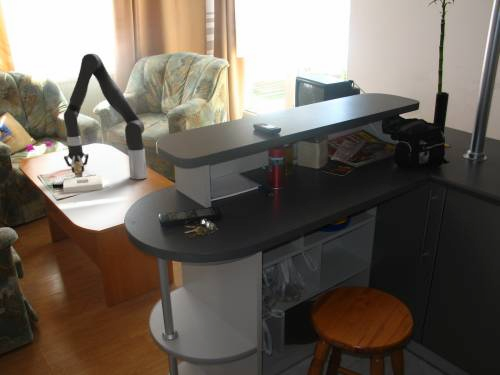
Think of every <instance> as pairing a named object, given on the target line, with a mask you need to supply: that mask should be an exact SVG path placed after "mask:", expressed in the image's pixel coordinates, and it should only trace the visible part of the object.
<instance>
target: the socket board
mask: <svg viewBox="0 0 500 375" xmlns="http://www.w3.org/2000/svg"><path fill="white" fill-rule="evenodd" d="M103 187H104V186H103V182H102V177H101V174H99V175H90V176H89V175H88V176H83V177H77V178H75V177H69V178H67V177H66V178H63V186H62V189H63V194H67V193H78V192H88V191H95V190H96V191H97V190H98V191H99V190H103Z"/></svg>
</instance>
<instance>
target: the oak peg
mask: <svg viewBox="0 0 500 375" xmlns="http://www.w3.org/2000/svg"><path fill="white" fill-rule="evenodd" d="M73 164H74V172H75V173H74V178H77V177H84V176H83V172H82V168H81V162H80V161H74V162H73Z"/></svg>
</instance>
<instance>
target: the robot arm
mask: <svg viewBox="0 0 500 375" xmlns="http://www.w3.org/2000/svg"><path fill="white" fill-rule="evenodd" d="M92 76H94V77H95V78H94V79H96V81H97V83H98V84H99V88H100V90H101V93H102V95H103V96H104V99H106V101H107V103H108V105H109V106H110V107H111V108H112V109H113V110H114V111H116V112H117V113H118V114H119V115H120V116H121V117H122V119H123V120H124V122H125V124H126V125H125V128H124V130H125V131H124V135H125V143H126V146H127V153H128V165H129V166H128V167H129V176H130V177H129V178H131V179H132V180H142V179H147V178H148V174H147V173H148V172H147V161H146V151H145V144H144V142H143V133H144V131H145V126H144V123H143V121H142V120H141V119H140V117H139V116H138V114H136V113H135V111H134V109H132V107H131V104H130V103H129V102H128V101H127V99H126V97H125V95H124V94H123V92H122V90H121V89H120V88H119V86H118V85H117V84H116V82H115V80H114V79H113V78H112V76H111V75H110V74H109V71H108V70H107V69H106V67H105V64H104V63H103V60H102V59H101V58H100V56H99V55H97V54H96V53H87V54H85V55H83V56H82V59H81V63H80V67H79V73H78V76H77V80H76V82H75V85H74V88H73V91H72V93H71V95H70V98H69V103H68V105H67V108H66V110H65V111H64V113H63V120H64V124H65V128H66V129H65V130H66V141H67V148H68V149H67V150H68V155H64V157H63V160H64V161H65V163H66V165H67V167H70V168H71V172H72V174H75V172H74V164H73V162H74V161H80V162H81V168H82V173H84V172H85V166H87V164H88V161H89V154H88V153H86V154H85V153H84V152H83V143H82V142H83V141H82V138H81V131H80V127H79V122H78V117H79V115H80V112H81V109H82V106H83V104H84V102H85V99H86V95H87V93H88V89H89V83H90V80H91V78H92ZM83 157H84V162H83ZM69 159H70V160H71V163H70V162H69Z"/></svg>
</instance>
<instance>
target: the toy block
mask: <svg viewBox="0 0 500 375" xmlns="http://www.w3.org/2000/svg"><path fill="white" fill-rule="evenodd" d="M44 146H46V147H47V148H48V147H51V146H52V142H50V141H46V142H45V145H44ZM26 150H27V151H29V152H33V151H35V150H36V149H35V147H34V145H32V144H28V145H27V144H26Z"/></svg>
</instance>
